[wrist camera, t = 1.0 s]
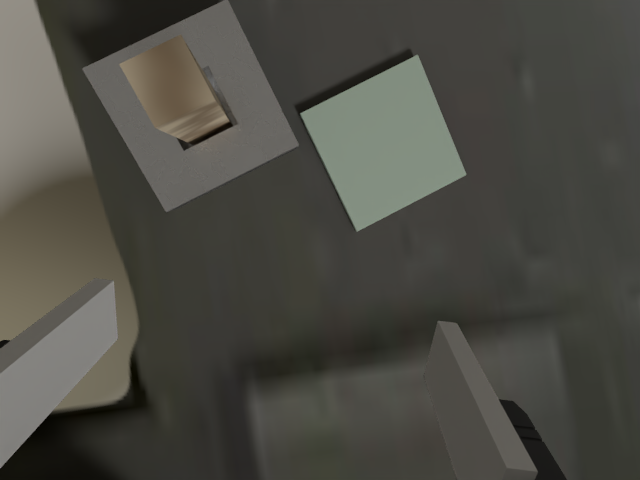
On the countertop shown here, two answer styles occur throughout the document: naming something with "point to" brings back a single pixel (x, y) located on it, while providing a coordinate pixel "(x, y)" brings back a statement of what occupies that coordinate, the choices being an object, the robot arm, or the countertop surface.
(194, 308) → the countertop surface
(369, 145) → the pad
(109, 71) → the hole block
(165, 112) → the square peg
